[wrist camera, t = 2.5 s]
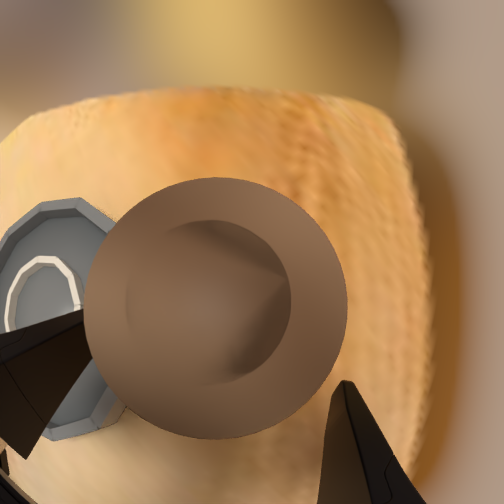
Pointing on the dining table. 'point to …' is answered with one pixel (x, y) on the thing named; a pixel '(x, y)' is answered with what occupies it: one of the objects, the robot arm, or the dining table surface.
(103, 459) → the dining table surface
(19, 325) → the round tray
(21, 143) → the dining table surface
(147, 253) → the bead spool
